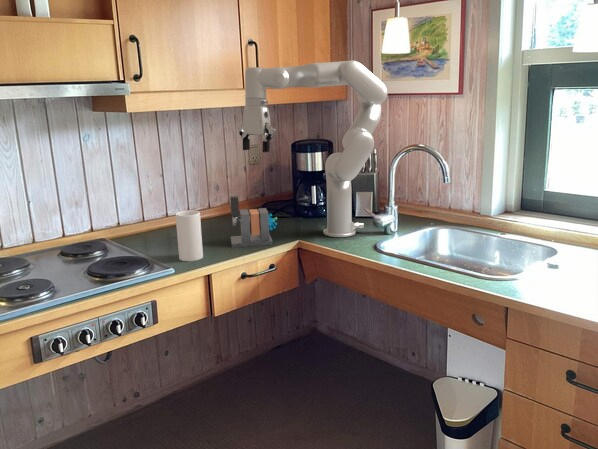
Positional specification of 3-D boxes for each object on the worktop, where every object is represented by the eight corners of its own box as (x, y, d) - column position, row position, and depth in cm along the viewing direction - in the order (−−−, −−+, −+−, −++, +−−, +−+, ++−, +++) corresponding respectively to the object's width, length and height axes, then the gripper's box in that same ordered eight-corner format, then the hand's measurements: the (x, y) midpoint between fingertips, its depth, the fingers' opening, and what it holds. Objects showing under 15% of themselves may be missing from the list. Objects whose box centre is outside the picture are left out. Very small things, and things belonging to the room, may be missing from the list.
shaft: (264, 222, 209) (263, 193, 206) (265, 224, 205) (264, 195, 203) (231, 224, 207) (229, 195, 205) (232, 227, 204) (230, 197, 201)
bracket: (269, 237, 214) (268, 207, 211) (272, 244, 205) (271, 213, 202) (230, 240, 212) (228, 209, 209) (231, 247, 202) (230, 216, 199)
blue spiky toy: (263, 229, 219) (252, 209, 223) (255, 238, 223) (245, 218, 227) (283, 228, 227) (273, 208, 231) (276, 236, 231) (266, 216, 235)
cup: (174, 258, 192) (170, 213, 188) (193, 252, 198) (190, 209, 194) (188, 262, 187) (184, 217, 183) (207, 256, 193) (204, 212, 189)
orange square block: (257, 229, 212) (256, 208, 210) (259, 234, 204) (258, 213, 202) (250, 229, 211) (249, 209, 209) (251, 235, 204) (250, 214, 201)
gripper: (281, 103, 196) (280, 152, 200) (245, 102, 206) (245, 148, 210) (267, 104, 190) (267, 153, 194) (231, 102, 200) (231, 149, 205)
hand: (256, 150), depth 202 cm, fingers open, 9 cm apart
